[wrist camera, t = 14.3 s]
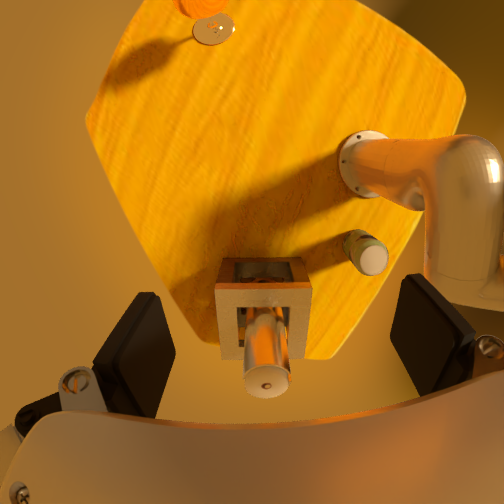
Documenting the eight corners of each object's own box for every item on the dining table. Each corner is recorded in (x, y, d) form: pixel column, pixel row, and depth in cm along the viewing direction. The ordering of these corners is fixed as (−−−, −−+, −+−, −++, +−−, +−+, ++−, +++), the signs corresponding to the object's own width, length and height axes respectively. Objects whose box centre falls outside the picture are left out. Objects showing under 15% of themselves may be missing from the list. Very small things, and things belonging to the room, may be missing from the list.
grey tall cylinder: (272, 307, 57) (280, 404, 33) (242, 298, 56) (235, 394, 33) (284, 282, 54) (301, 376, 31) (254, 272, 53) (252, 365, 30)
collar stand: (300, 257, 52) (312, 288, 41) (296, 320, 58) (303, 358, 47) (222, 258, 52) (214, 289, 41) (227, 321, 58) (221, 359, 47)
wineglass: (231, 47, 37) (216, -7, 19) (188, 44, 37) (151, -4, 18) (239, 14, 34) (230, -47, 16) (197, 12, 34) (169, -44, 15)
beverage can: (353, 262, 52) (375, 292, 41) (330, 239, 51) (350, 265, 40) (375, 240, 51) (402, 265, 40) (353, 216, 49) (378, 236, 38)
